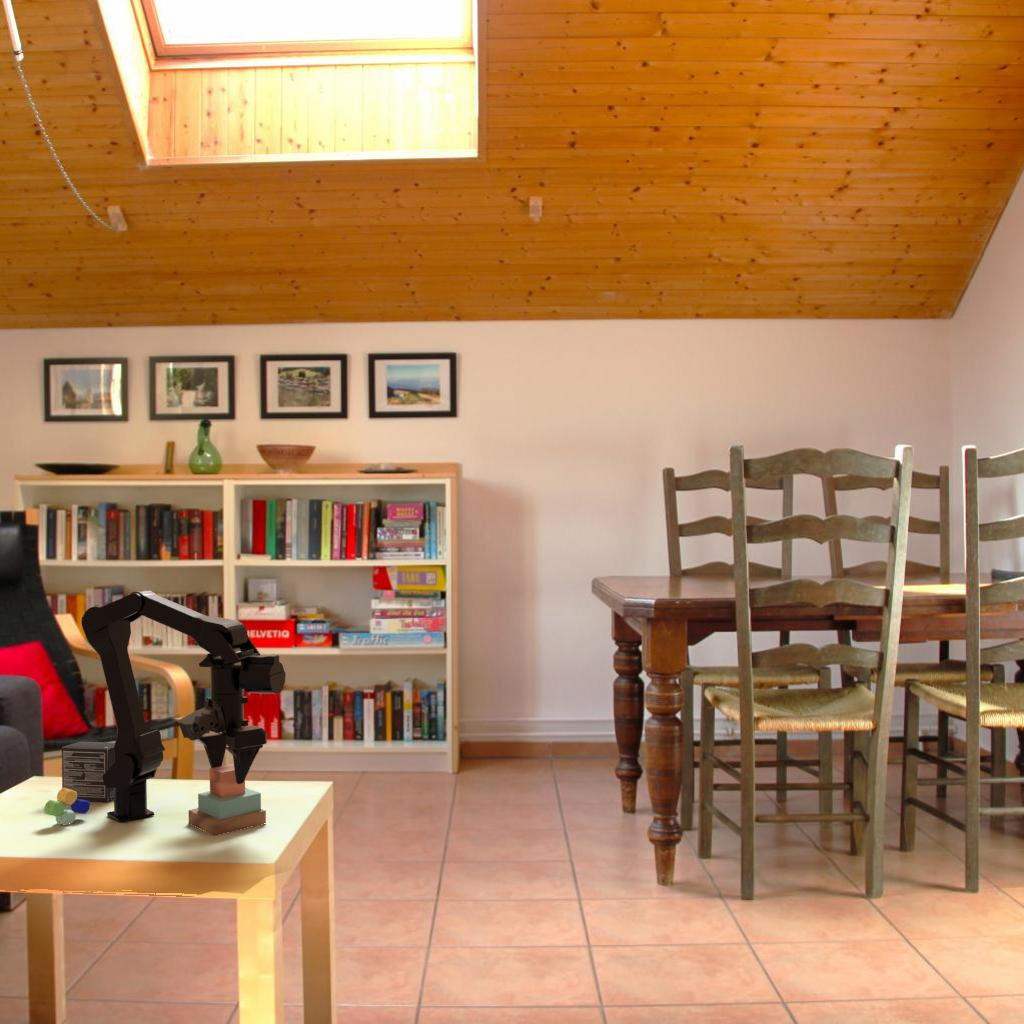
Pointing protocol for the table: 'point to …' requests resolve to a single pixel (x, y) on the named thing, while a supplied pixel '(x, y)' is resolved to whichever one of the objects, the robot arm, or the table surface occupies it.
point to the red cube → (225, 782)
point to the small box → (88, 769)
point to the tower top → (229, 804)
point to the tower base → (225, 821)
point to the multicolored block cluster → (58, 807)
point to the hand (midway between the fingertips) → (227, 778)
